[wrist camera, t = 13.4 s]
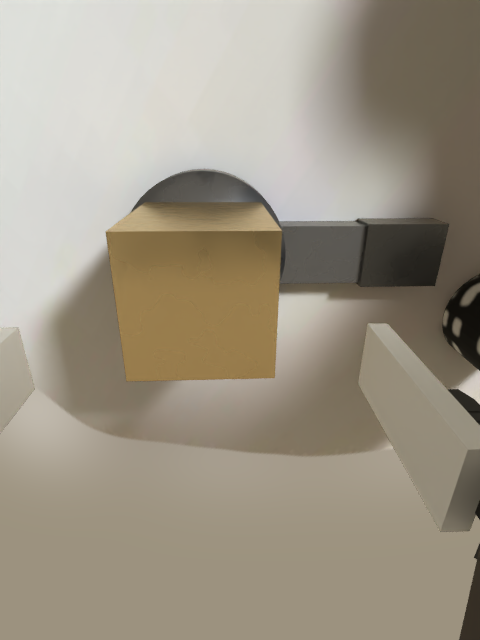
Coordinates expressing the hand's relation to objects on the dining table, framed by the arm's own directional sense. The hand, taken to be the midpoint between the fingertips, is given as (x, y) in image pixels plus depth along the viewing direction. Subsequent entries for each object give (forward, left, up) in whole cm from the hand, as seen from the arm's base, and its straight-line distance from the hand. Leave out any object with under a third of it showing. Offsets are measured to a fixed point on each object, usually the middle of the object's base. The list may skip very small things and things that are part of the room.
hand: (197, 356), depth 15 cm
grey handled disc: (0, +6, -17) cm, 18 cm away
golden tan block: (0, 0, -15) cm, 15 cm away
